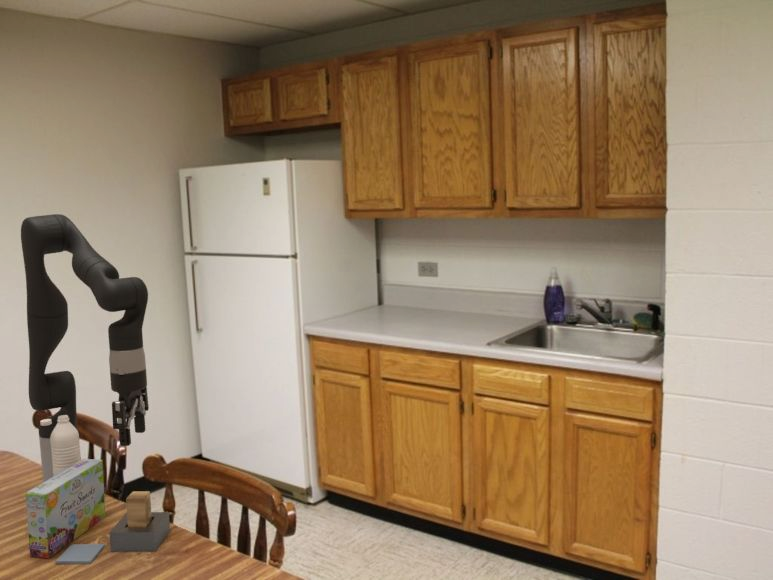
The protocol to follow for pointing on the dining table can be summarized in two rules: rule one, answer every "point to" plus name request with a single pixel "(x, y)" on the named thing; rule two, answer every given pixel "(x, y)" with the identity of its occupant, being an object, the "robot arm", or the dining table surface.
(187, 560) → the dining table surface
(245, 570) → the dining table surface
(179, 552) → the dining table surface
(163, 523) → the socket block
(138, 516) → the square peg
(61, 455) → the water bottle
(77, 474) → the snack box
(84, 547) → the rubber mat
